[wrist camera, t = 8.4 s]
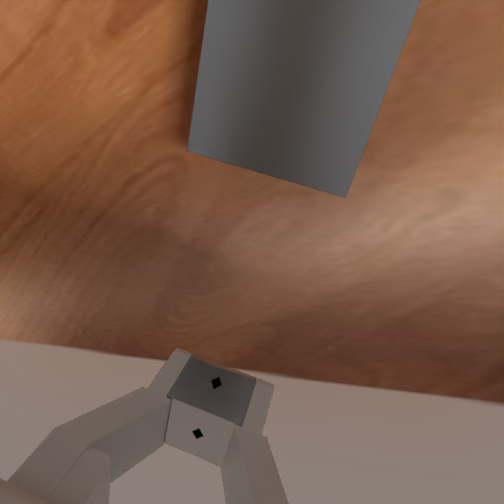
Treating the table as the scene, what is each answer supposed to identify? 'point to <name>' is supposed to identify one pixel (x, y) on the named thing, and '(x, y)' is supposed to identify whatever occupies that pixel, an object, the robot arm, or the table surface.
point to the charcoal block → (295, 84)
